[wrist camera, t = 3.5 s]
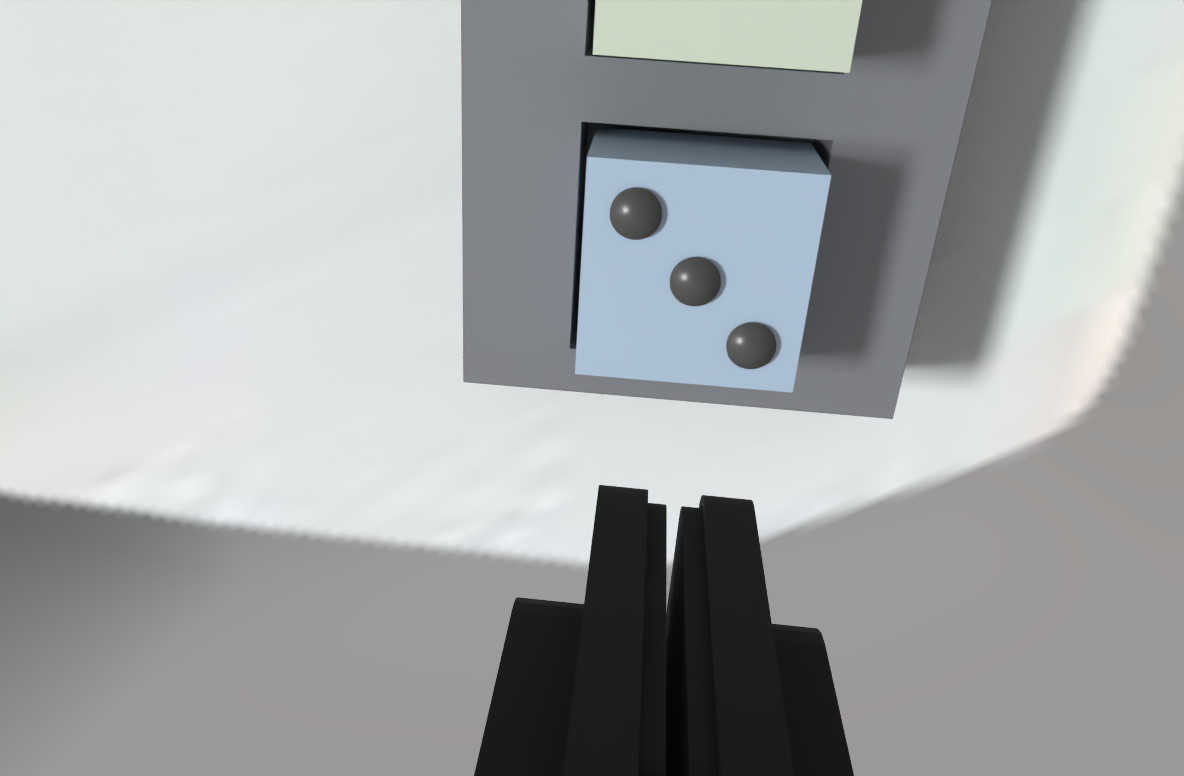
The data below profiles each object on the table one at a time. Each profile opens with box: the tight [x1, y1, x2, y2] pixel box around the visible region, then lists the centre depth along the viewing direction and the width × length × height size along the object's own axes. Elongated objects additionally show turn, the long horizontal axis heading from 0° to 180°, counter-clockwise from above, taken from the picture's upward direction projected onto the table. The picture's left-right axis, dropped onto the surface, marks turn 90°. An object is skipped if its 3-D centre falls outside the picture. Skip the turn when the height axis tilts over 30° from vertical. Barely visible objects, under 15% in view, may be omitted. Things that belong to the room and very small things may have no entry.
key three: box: [575, 127, 831, 393], centre depth 21 cm, size 5×5×3 cm
